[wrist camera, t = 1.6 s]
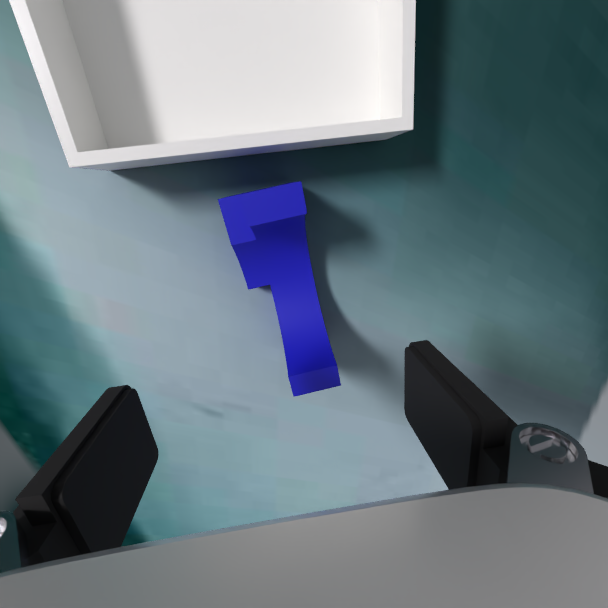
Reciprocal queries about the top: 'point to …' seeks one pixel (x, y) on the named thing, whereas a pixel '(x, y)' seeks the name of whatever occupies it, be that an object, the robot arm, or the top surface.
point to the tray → (218, 75)
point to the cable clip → (284, 277)
